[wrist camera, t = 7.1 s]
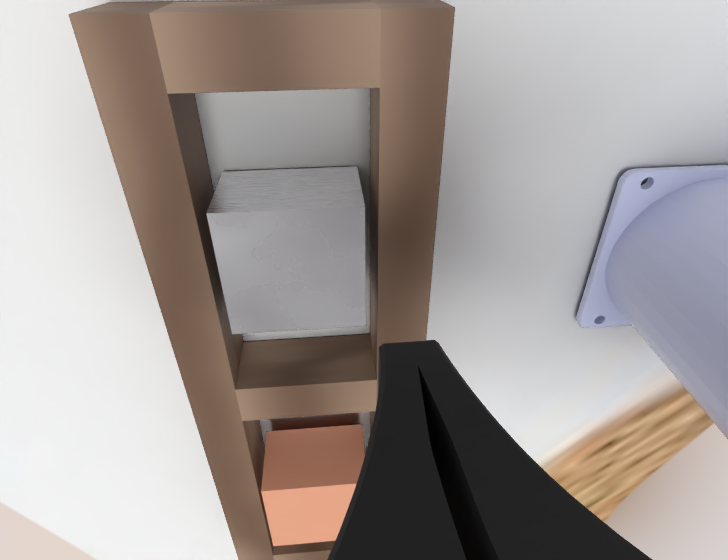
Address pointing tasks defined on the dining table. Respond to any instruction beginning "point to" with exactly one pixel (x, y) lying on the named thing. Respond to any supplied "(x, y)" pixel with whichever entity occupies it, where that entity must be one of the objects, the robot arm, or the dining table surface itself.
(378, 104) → the brown ladder-shaped frame
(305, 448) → the salmon pink cube
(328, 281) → the silver metal block
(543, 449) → the dining table surface
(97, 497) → the dining table surface
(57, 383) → the dining table surface
